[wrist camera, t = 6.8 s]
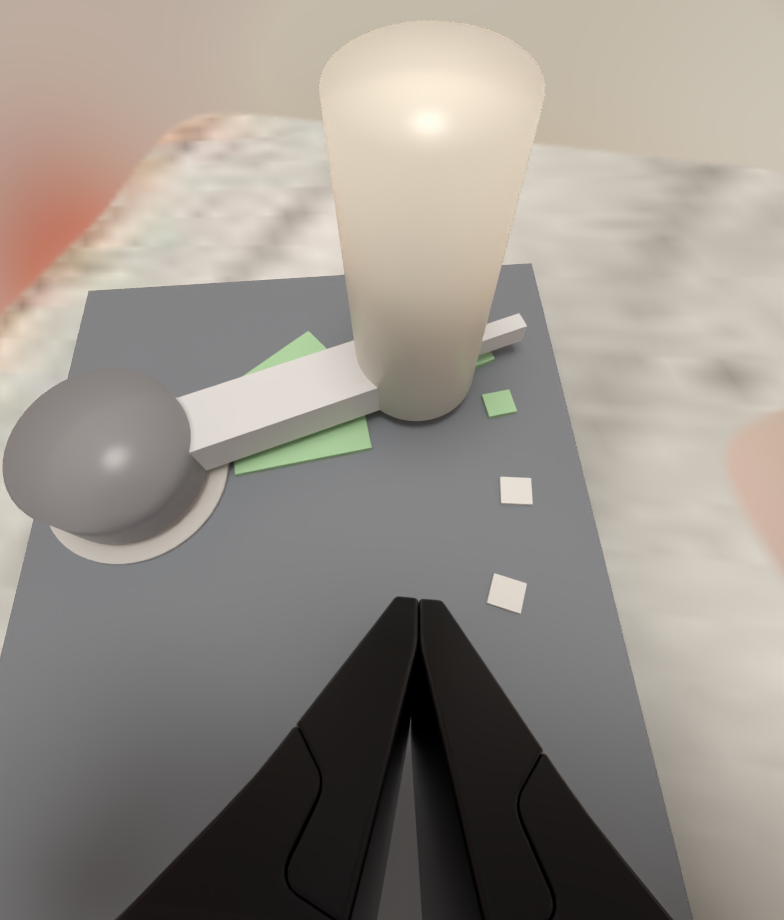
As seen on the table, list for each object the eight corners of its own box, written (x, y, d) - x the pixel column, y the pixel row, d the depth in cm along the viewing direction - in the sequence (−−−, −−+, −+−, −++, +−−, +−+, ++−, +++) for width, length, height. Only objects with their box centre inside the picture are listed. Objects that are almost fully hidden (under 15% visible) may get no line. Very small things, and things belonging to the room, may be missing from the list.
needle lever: (59, 569, 14) (-425, 433, 6) (44, 430, 16) (-339, 177, 8) (551, 391, 16) (707, 108, 8) (486, 286, 18) (560, -30, 10)
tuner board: (700, 1028, 11) (733, 1068, 10) (-72, 1094, 11) (-125, 1143, 10) (525, 279, 20) (532, 257, 19) (103, 306, 20) (86, 285, 19)
